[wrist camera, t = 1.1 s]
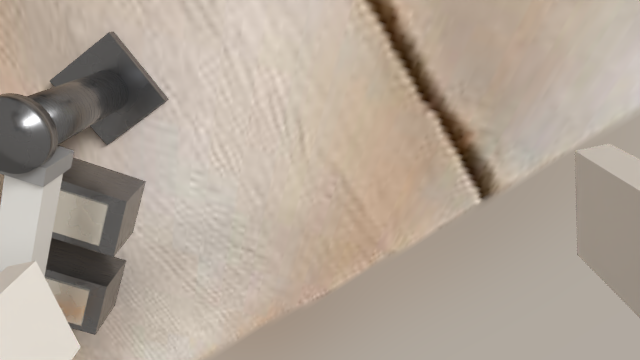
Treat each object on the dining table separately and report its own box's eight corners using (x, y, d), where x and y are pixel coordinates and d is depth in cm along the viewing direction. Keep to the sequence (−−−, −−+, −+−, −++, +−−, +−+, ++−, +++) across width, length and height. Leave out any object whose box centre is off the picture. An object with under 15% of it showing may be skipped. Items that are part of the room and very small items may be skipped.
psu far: (33, 232, 40) (2, 258, 36) (126, 260, 41) (105, 288, 37) (25, 279, 42) (-5, 308, 38) (114, 305, 43) (94, 336, 39)
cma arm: (29, 136, 29) (-4, 152, 26) (75, 151, 29) (48, 169, 26) (-6, 377, 36) (-36, 412, 33) (31, 387, 36) (5, 422, 33)
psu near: (46, 148, 37) (14, 167, 33) (145, 181, 38) (125, 202, 34) (37, 202, 39) (6, 225, 35) (132, 232, 40) (112, 258, 36)
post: (55, 79, 35) (-80, 122, 23) (113, 31, 34) (1, 51, 22) (111, 142, 37) (12, 211, 25) (168, 99, 36) (92, 151, 24)
